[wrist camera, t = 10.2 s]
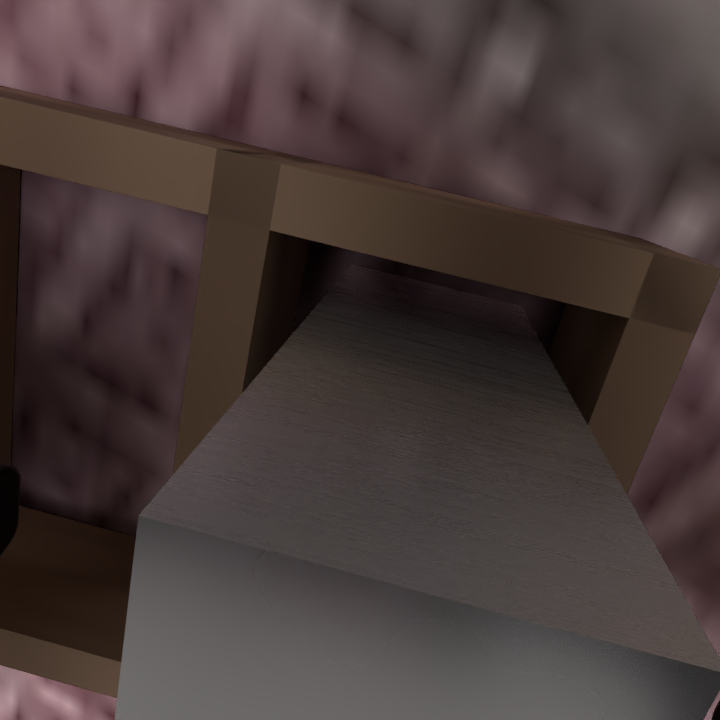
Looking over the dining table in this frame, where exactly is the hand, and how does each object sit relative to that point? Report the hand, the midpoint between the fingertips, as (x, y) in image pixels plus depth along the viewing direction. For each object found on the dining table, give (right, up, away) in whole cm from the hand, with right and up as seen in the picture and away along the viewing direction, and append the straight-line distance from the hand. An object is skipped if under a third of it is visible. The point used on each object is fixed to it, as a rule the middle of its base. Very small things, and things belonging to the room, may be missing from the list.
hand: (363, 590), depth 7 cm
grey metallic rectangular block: (+1, +1, +4) cm, 4 cm away
